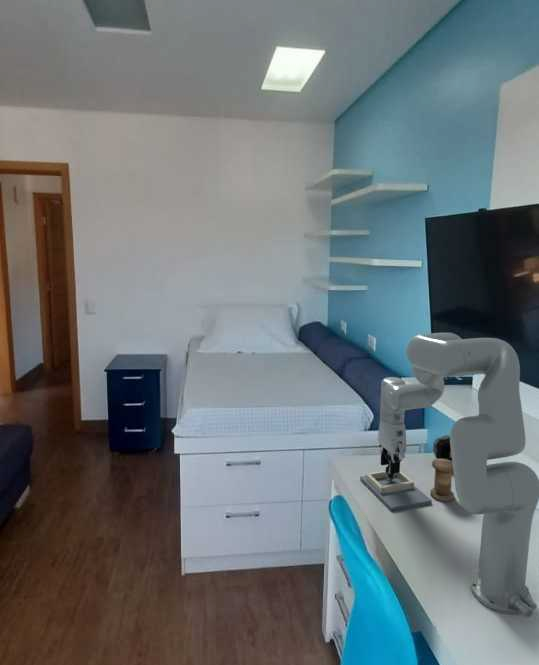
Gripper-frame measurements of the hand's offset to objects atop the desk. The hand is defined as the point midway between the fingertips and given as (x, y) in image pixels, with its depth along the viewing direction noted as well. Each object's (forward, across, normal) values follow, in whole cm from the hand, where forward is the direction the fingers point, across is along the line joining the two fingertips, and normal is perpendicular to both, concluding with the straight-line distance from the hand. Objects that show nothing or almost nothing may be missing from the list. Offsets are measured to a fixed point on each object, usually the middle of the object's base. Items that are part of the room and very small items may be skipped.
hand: (389, 468), depth 153 cm
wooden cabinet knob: (+7, -10, -13) cm, 18 cm away
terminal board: (+7, -3, 0) cm, 7 cm away
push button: (+4, 0, 0) cm, 4 cm away
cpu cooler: (+7, +8, -29) cm, 31 cm away
